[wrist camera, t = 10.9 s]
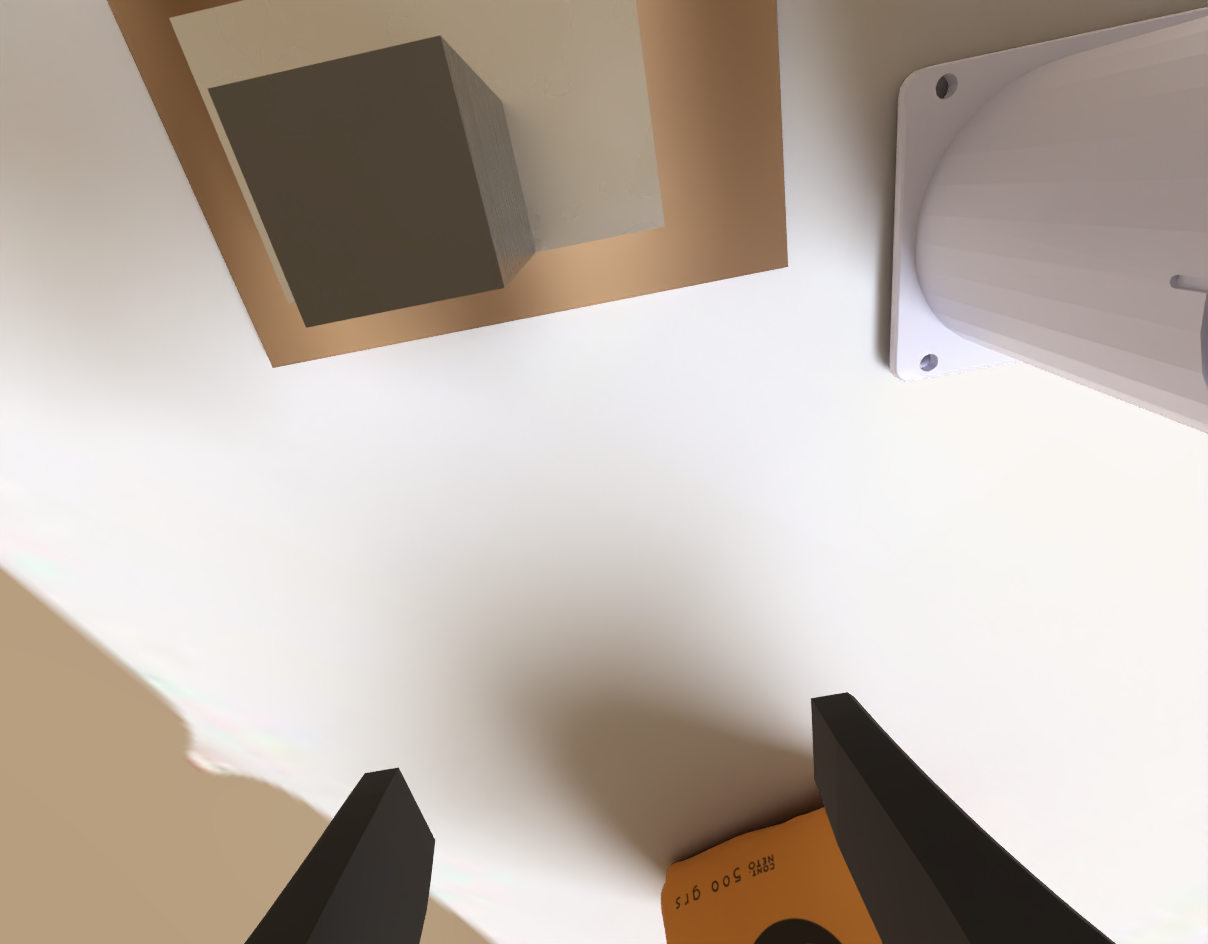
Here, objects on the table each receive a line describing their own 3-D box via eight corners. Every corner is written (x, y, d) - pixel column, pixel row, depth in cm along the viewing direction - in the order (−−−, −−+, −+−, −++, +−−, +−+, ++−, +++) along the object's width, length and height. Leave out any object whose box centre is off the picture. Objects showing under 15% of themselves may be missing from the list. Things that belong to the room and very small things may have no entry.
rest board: (762, -168, 12) (768, -182, 12) (782, 264, 16) (787, 266, 16) (115, -12, 13) (98, -19, 13) (281, 363, 17) (272, 368, 17)
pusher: (617, -41, 13) (654, -337, 6) (653, 221, 15) (711, 246, 8) (238, 47, 13) (-164, -121, 6) (331, 287, 16) (116, 366, 9)
